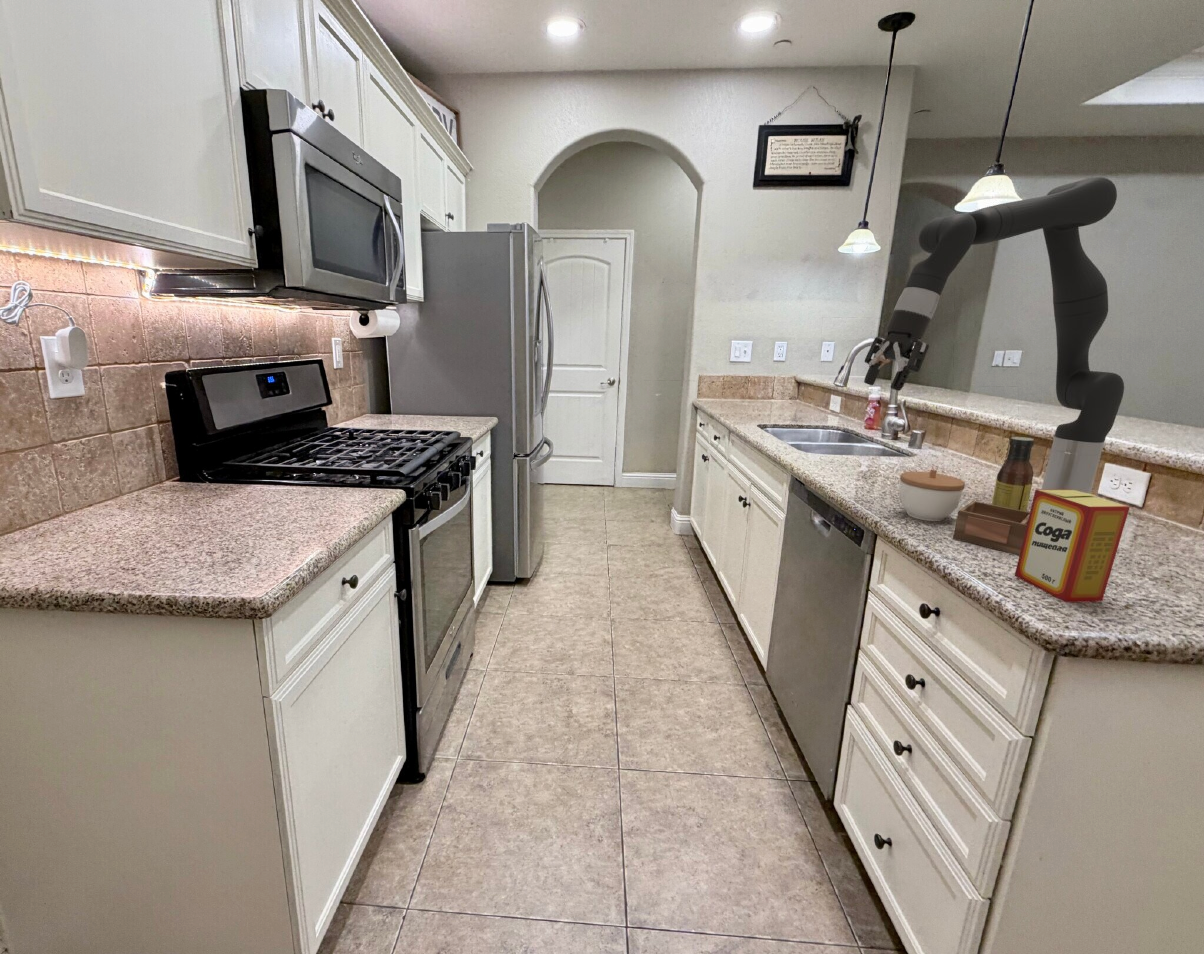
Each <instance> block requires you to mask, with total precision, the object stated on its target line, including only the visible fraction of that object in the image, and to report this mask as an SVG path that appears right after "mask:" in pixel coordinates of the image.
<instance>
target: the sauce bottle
mask: <svg viewBox="0 0 1204 954" xmlns="http://www.w3.org/2000/svg"><path fill="white" fill-rule="evenodd" d="M1034 443H1035V439H1034V438H1031V437H1024V436H1023V437H1022V436H1012V437H1010V439H1009V449H1008V454H1007V456H1006V459H1005V461H1004V463H1003V465H1001V467H1000V468H999V471H998V473H997V475H996V479H995V486H994V491H993V496H992V502H991V504H992V505H996V506H1001V507H1006V508H1011V509H1016V510H1021V511H1026V512H1028V508H1029V503H1030V502H1029V501H1030V496H1031V492H1032V491H1031V490H1032V487H1033V477H1034V474H1035V473H1034V470H1033V469H1034V468H1033V465H1032V464H1031V462H1030V459H1031V453H1032V448H1033V446H1034Z"/></svg>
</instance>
